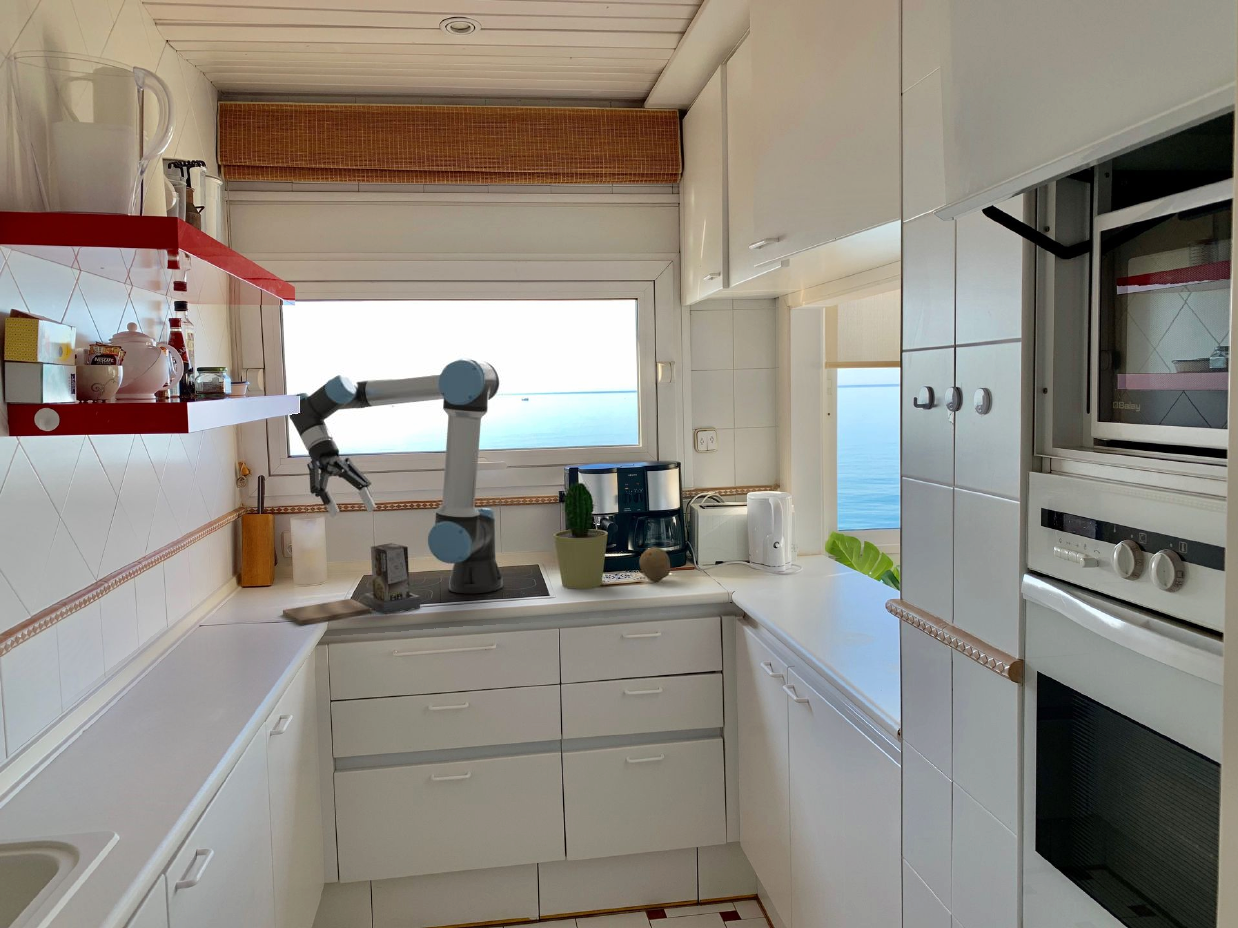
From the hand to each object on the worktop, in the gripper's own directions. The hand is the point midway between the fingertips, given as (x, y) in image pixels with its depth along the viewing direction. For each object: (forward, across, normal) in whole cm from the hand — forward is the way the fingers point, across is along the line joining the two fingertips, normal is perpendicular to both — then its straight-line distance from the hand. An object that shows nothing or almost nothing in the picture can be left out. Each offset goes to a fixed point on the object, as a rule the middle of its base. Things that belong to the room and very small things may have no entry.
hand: (354, 512), depth 247 cm
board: (+21, +11, -13) cm, 28 cm away
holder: (+27, -1, -4) cm, 27 cm away
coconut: (+54, -54, +40) cm, 86 cm away
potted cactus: (+44, -43, +25) cm, 66 cm away
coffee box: (+27, -1, -4) cm, 27 cm away
